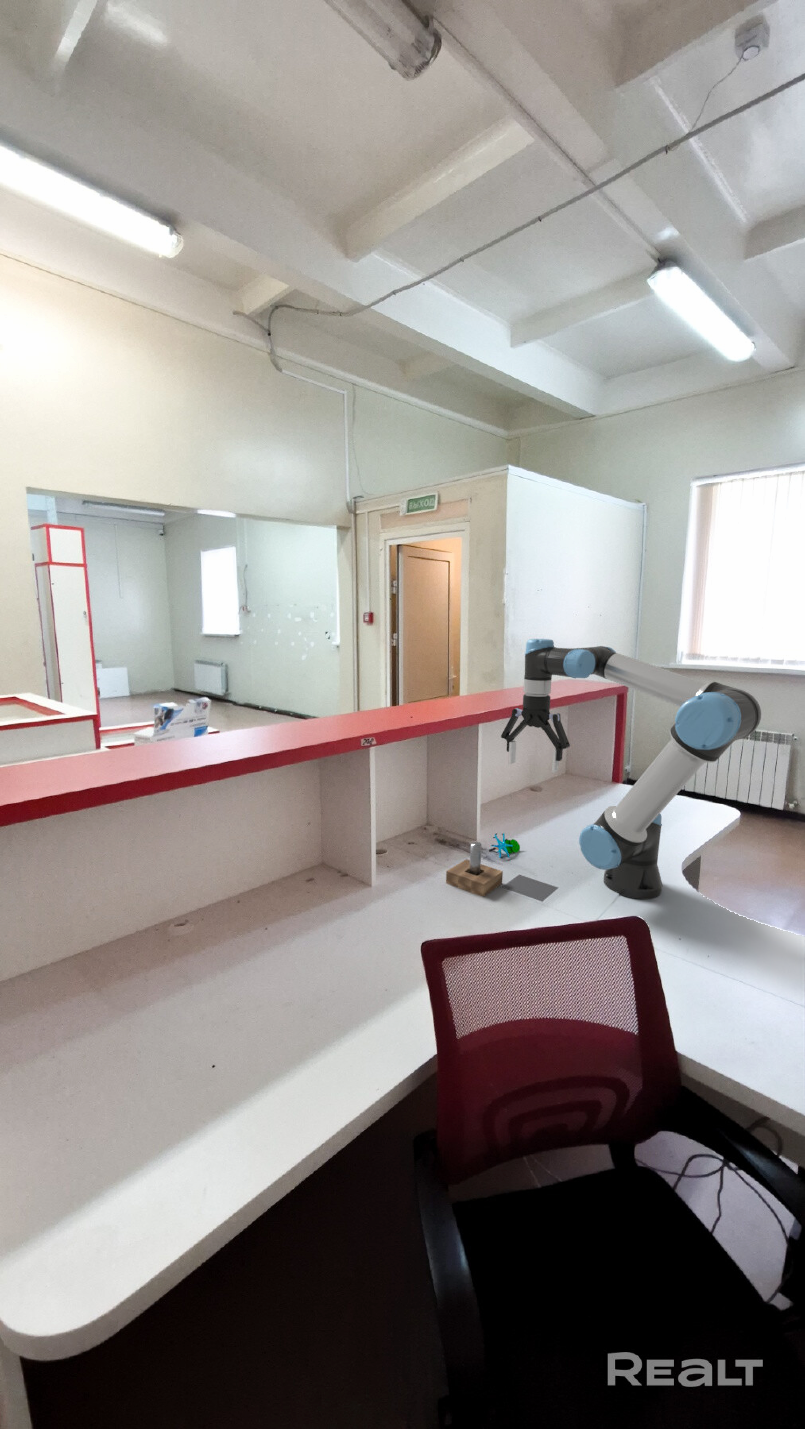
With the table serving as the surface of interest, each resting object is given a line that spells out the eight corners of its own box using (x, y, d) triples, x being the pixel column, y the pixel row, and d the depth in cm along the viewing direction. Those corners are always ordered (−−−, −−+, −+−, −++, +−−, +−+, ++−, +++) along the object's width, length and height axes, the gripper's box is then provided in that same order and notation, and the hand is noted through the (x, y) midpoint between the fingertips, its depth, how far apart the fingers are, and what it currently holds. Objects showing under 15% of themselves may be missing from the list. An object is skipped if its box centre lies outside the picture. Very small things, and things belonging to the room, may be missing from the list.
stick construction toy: (499, 856, 176) (493, 831, 179) (482, 862, 180) (478, 837, 184) (525, 857, 183) (519, 833, 186) (509, 863, 188) (503, 840, 191)
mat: (558, 888, 161) (558, 887, 160) (542, 902, 153) (542, 901, 153) (519, 875, 168) (519, 874, 168) (501, 888, 160) (501, 887, 160)
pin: (481, 884, 163) (483, 843, 160) (476, 888, 160) (477, 847, 158) (472, 881, 164) (474, 840, 162) (466, 884, 162) (468, 844, 160)
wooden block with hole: (502, 884, 162) (502, 871, 162) (483, 898, 155) (483, 884, 154) (465, 872, 170) (466, 859, 169) (446, 884, 162) (446, 870, 162)
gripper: (585, 697, 159) (579, 772, 163) (504, 688, 175) (501, 757, 179) (574, 700, 154) (568, 778, 158) (491, 691, 169) (488, 762, 173)
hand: (532, 767), depth 168 cm, fingers open, 13 cm apart
